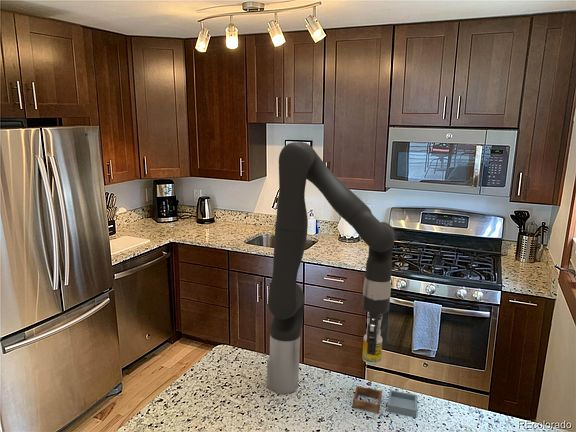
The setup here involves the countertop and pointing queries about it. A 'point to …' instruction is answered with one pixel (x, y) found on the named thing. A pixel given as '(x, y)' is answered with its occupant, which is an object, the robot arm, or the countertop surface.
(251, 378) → the countertop surface
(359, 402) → the wooden square frame
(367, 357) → the supplement bottle
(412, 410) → the tray
